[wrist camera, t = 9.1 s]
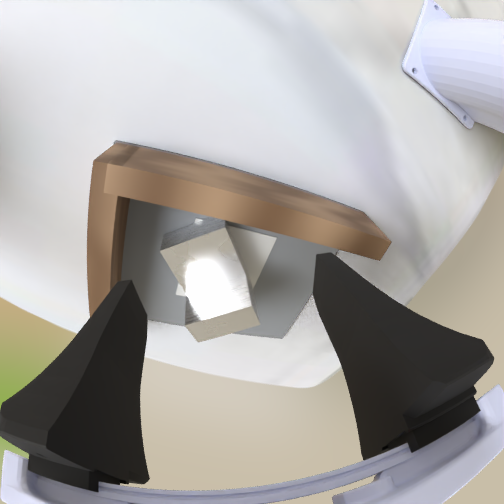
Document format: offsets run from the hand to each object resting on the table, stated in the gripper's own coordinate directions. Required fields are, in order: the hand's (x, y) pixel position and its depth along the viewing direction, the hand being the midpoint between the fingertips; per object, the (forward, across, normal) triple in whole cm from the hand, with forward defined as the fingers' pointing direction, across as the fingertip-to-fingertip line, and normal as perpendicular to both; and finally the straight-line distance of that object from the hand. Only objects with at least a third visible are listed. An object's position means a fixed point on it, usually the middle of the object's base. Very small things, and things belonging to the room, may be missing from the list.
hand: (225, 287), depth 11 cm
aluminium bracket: (+9, +1, +5) cm, 10 cm away
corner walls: (+9, +1, +6) cm, 11 cm away
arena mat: (+9, +1, +6) cm, 11 cm away
